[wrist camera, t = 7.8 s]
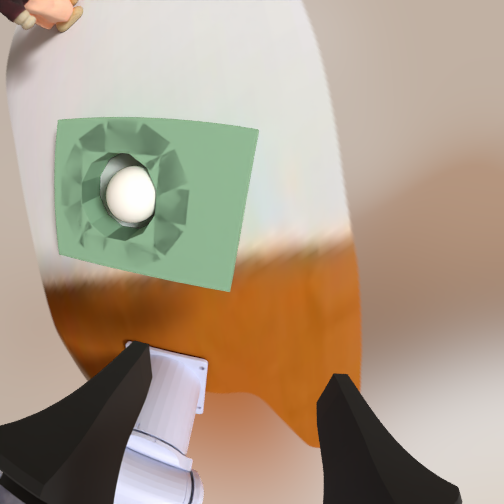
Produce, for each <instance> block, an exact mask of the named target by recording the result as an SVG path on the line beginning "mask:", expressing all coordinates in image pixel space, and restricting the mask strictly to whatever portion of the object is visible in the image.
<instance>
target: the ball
mask: <svg viewBox="0 0 504 504" xmlns="http://www.w3.org/2000/svg"><path fill="white" fill-rule="evenodd" d="M156 192H157V191H156V188H155V186H154V184H153V181H152V179H151V176H150V174H149V172H148V169H146V168H144V167H141V166H129V167H126V168H123V169H121V170H120V171H118V172H117V173H116V174H115V175H114V176H113V177H112V179H111V180H110V182H109V184H108V187H107V191H106V200H107V204H108V207H109V209H110V211H111V212H112V214H113V215H114V216H115V217H116V218H118V219H119V220H121V221H124V222H128V223H137V222H141V221H144V220H146V219H147V218H149V217H150V216H151V215H152V214H153V213H154V212H155V205H156Z"/></svg>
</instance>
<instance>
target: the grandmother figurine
mask: <svg viewBox="0 0 504 504" xmlns="http://www.w3.org/2000/svg"><path fill="white" fill-rule="evenodd" d="M77 1H78V0H0V12H1V13H2V14H3V15H4V16H6V17H7V18H8V19H9V20H10V21H12V22H15V23H16V24H18V25H22V28H23V29H25V30H28V29H30V28H32V27H33V26H34V24H37V25H39V26H41V27H43V28H45V29H48V30H50V29H51V28H52V27H53V25H54V24H55V23H56V27H57V29H58V31H60V32H64V31H66V30H67V29H69V28H70V27H71V26H72V25H73V24H74V23H75V22H76V21H77V20H78V19H79V18H80V16H81V15H82V13H83V8H82V7H81V6H77V7H74V8H73V6H74V5H75V4H76V3H77Z"/></svg>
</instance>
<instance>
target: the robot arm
mask: <svg viewBox="0 0 504 504" xmlns="http://www.w3.org/2000/svg"><path fill="white" fill-rule="evenodd" d="M207 369H208V362H207V360H205V359H202V358H197V357H192V356H187V355H183V354H178V353H174V352H170V351H165V350H161V349H157V348H153V347H150V346H149V344H146V343H142V342H138V341H133V342H131V341H128V342H127V343H126V349H125V350H123V351H122V352H121V353H120V354H119V355H118V356H117V357H116V358H115V359H114V360H113V361H112V362H111V363H109V364H108V365H107V366H106V367H105V368H104V369H102V370H101V371H100V372H99V373H98V374H97V375H95V376H94V377H93V378H92V379H90V380H89V381H88V382H87V383H85V384H84V385H83V386H81V387H80V388H79V389H77V390H76V391H74V392H73V393H72V394H70V395H68V396H67V397H65V398H64V399H62V400H61V401H59V402H57V403H55V404H53V405H52V406H50V407H48V408H46V409H44V410H42V411H40V412H38V413H36V414H33V415H31V416H28V417H26V418H23V419H21V420H18V421H15V422H12V423H8V424H4V425H1V426H0V470H1V471H2V472H3V473H2V472H1V471H0V504H202V502H203V494H204V491H203V490H204V489H203V483H202V481H201V479H200V476H199V474H198V473H197V471H195V470H193V469H191V467H192V461H193V460H192V459H190V458H188V457H186V454H187V450H188V445H189V440H190V436H191V431H192V426H193V422H194V417H195V413H196V414H202V413H203V408H204V398H205V388H206V378H207ZM317 428H318V435H319V442H320V449H321V456H322V463H323V472H324V498H323V504H462V499H461V495H460V492H459V488H458V487H457V486H455V485H453V484H451V483H450V482H447V481H446V480H444V479H442V478H440V477H439V476H437V475H436V474H434V473H433V472H431V471H430V470H428V469H427V468H426V467H424V466H423V465H422V464H421V463H419V462H418V461H417V460H416V459H415V458H413V457H412V456H411V455H410V454H409V453H408V452H407V451H406V450H405V449H404V448H403V447H402V446H401V445H400V444H399V443H398V442H397V441H396V440H395V439H394V438H393V437H392V435H391V434H390V433H389V432H388V431H387V429H386V428H385V427H384V426H383V424H382V423H381V422H380V421H379V419H378V418H377V417H376V415H375V414H374V412H373V411H372V410H371V408H370V407H369V405H368V404H367V403H366V401H365V400H364V398H363V397H362V395H361V394H360V392H359V391H358V389H357V388H356V386H355V385H354V383H353V382H352V380H351V379H350V377H349V376H348V374H333V376H332V377H331V379H330V381H329V383H328V384H327V386H326V388H325V389H324V391H323V393H322V394H321V396H320V398H319V399H318V401H317Z"/></svg>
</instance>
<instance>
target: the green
mask: <svg viewBox="0 0 504 504" xmlns="http://www.w3.org/2000/svg"><path fill="white" fill-rule="evenodd" d="M258 133H259V130H258V129H252V128H246V127H240V126H233V125H226V124H218V123H209V122H200V121H190V120H178V119H163V118H140V117H98V118H76V119H62V120H58V125H57V135H56V149H55V215H56V229H57V239H58V248H59V254H60V255H64V256H67V257H71V258H75V259H79V260H83V261H87V262H91V263H95V264H99V265H103V266H107V267H112V268H116V269H120V270H125V271H129V272H133V273H138V274H142V275H147V276H152V277H156V278H161V279H166V280H170V281H175V282H180V283H185V284H190V285H195V286H200V287H206V288H211V289H216V290H222V291H227V292H230V288H231V284H232V279H233V274H234V268H235V262H236V256H237V250H238V244H239V239H240V233H241V227H242V221H243V216H244V210H245V204H246V199H247V193H248V187H249V182H250V176H251V171H252V165H253V160H254V154H255V149H256V144H257V138H258ZM119 153H127V154H130V155H131V156H133V157H134V158H135V159H136V160H138V161H139V162H140V163H141V164H143V165H144V166H145V167H147V169H148V172H149V174H150V176H151V179H152V181H153V184H154V186H155V188H156V191H157V192H156V205H155V216H154V217H153V219H152V220H151V222H150V223H149V225H148V226H145V227H143V228H141V229H137V228H132V227H126V226H122V225H120V224H119V223H118V222H117V221H116V220H114V219H113V218H112V217H111V216H110V215H108V214H107V211H106V209H105V207H104V205H103V202H102V200H101V198H100V176H101V174H102V172H103V170H104V168H105V167H106V165H107V163H108V161H109V159H111V158H112V157H114V156H116V155H117V154H119Z"/></svg>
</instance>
